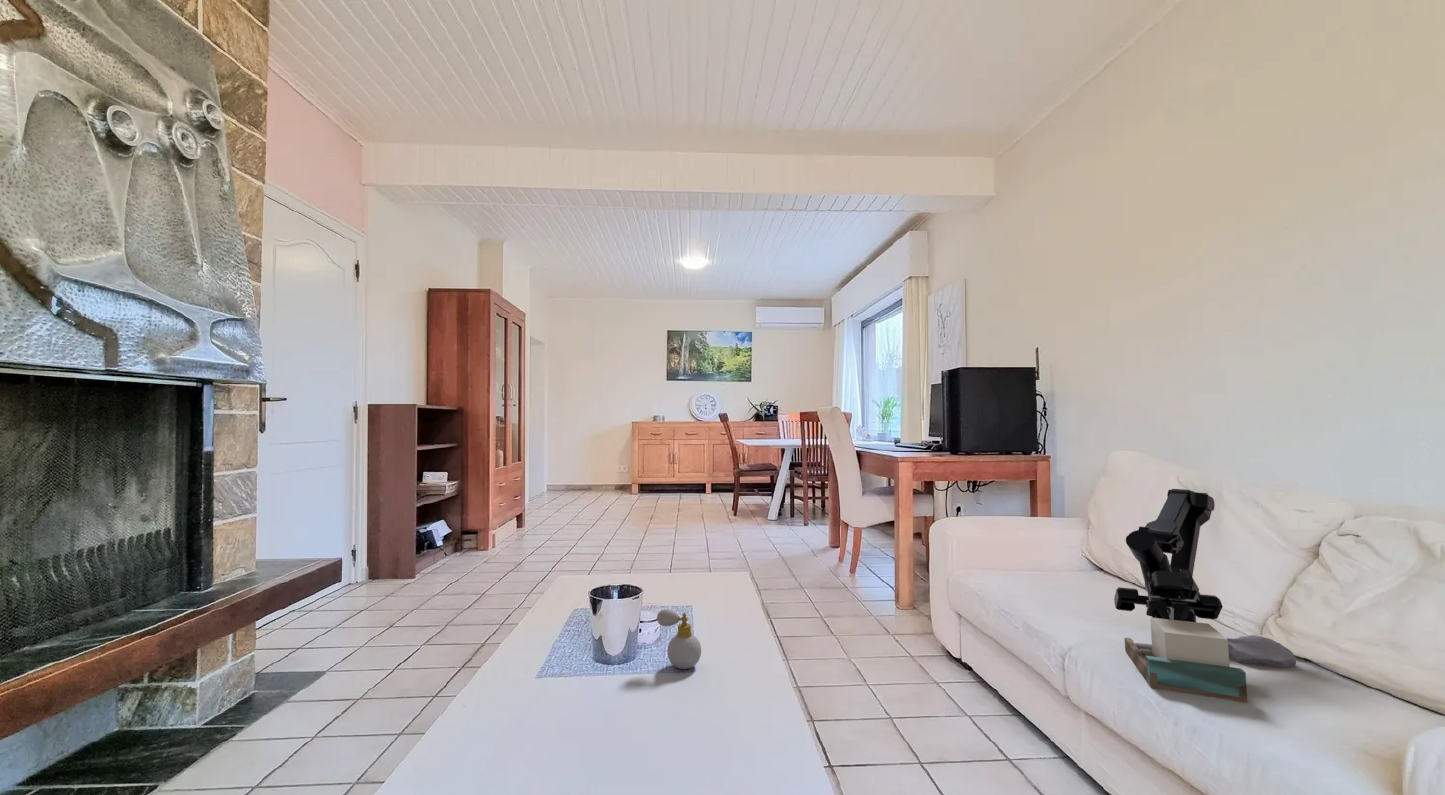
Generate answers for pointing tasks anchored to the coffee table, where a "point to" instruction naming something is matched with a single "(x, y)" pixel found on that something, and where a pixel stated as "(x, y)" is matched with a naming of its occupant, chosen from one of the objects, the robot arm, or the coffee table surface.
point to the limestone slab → (1188, 642)
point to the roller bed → (1187, 674)
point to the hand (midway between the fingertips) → (1175, 639)
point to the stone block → (1260, 651)
